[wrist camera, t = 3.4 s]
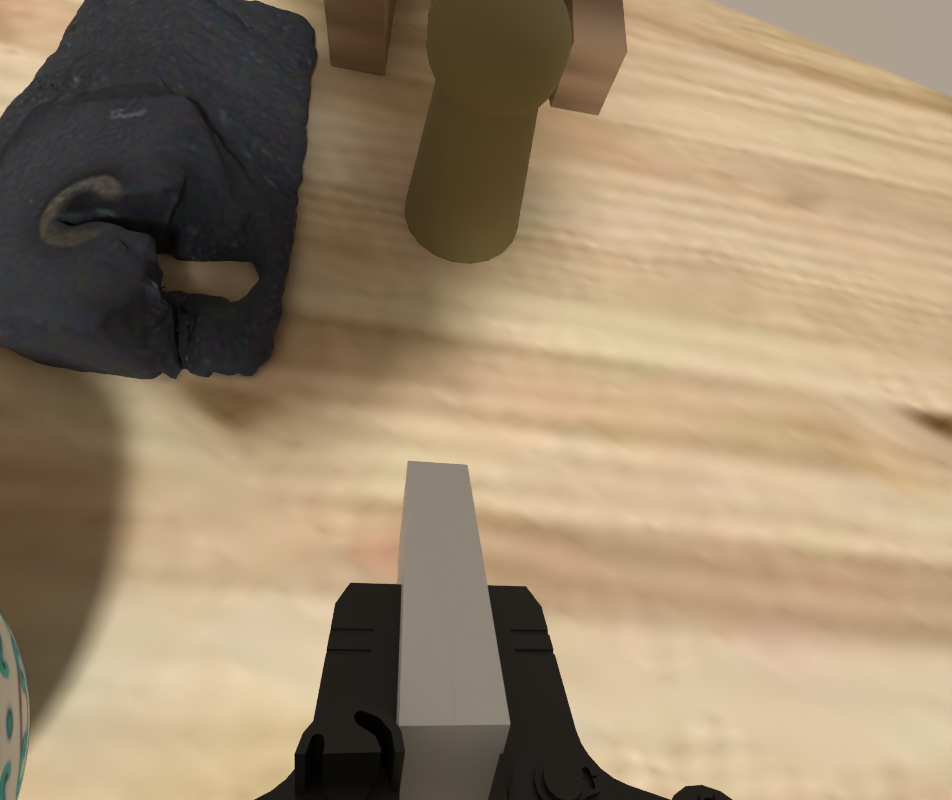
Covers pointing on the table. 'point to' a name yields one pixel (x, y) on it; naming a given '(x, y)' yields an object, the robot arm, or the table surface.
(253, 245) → the dark slate chunk
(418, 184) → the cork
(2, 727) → the chinaware
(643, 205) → the table surface
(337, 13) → the walnut pocket
